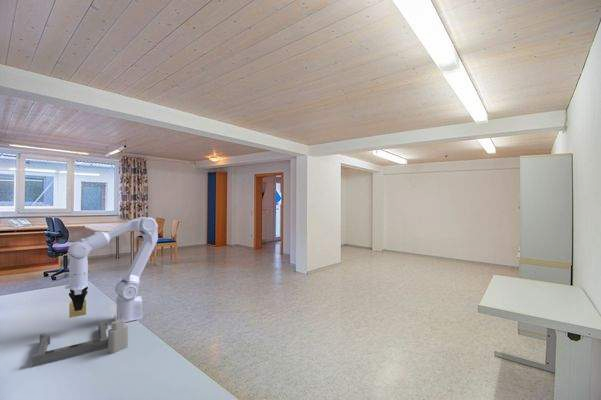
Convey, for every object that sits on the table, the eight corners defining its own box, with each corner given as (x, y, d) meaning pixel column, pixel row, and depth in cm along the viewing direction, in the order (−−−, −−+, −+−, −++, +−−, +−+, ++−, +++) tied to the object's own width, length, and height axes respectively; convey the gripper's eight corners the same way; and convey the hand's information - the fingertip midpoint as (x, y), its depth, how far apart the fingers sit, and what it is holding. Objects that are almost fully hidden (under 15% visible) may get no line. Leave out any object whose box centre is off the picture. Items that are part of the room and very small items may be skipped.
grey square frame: (107, 327, 115) (107, 320, 115) (110, 347, 100) (110, 338, 100) (39, 342, 103) (39, 333, 103) (31, 367, 88) (31, 356, 88)
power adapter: (107, 351, 97) (107, 315, 97) (123, 344, 102) (123, 310, 102) (112, 354, 96) (112, 317, 95) (128, 346, 100) (128, 312, 100)
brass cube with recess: (86, 311, 115) (86, 298, 115) (85, 314, 111) (85, 301, 111) (69, 314, 112) (70, 301, 112) (69, 317, 108) (69, 304, 108)
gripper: (66, 270, 115) (66, 305, 115) (63, 279, 103) (63, 317, 103) (88, 268, 119) (88, 301, 119) (88, 276, 107) (88, 312, 107)
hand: (78, 308), depth 112 cm, fingers closed on brass cube with recess, 4 cm apart
